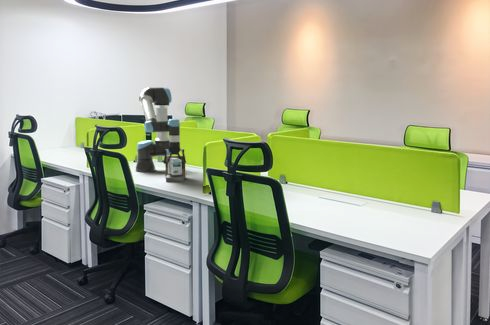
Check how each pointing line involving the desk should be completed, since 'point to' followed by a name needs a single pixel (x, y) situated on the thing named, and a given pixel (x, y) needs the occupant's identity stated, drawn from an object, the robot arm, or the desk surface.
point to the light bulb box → (175, 166)
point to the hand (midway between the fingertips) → (175, 173)
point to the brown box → (175, 177)
